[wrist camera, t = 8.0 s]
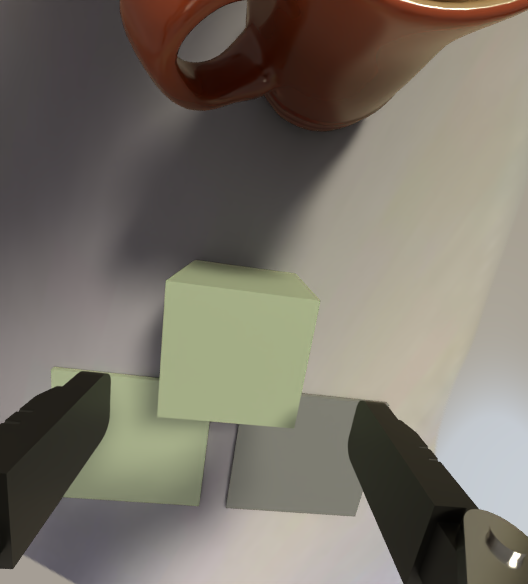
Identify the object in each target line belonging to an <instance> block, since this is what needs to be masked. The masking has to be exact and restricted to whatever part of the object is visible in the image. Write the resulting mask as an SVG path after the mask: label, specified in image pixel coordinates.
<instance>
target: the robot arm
mask: <svg viewBox="0 0 528 584" xmlns="http://www.w3.org/2000/svg"><path fill="white" fill-rule="evenodd" d="M110 395H111V377H110V375H109V374H108V373H99V372H89V371H81V372H79V373H78V374H76V375H75V376H74V377H73V378H72V379H70V380H69V381H68V382H67V383H66V384H65V385H63V386H56V387H54V388H52V389H50V390H47V391H45V392H43V393H41V394H39V395H37V396H35V397H34V398H33V399H32V400H30V401H29V402H28V403H26V404H25V405H24V406H23V407H21V408H20V410H19V412H15V413H14V414H13V415H11V416H10V417H9V418H8V419H6V420H5V423H1V424H0V569H13V568H14V567H15V565H16V564H17V562H18V561H19V560H20V558H21V557H22V555H23V554H24V552H25V551H26V549H27V548H28V547H29V545H30V544H31V542H32V541H33V539H34V538H35V536H36V535H37V534H38V532H39V531H40V529H41V528H42V526H43V525H44V523H45V522H46V520H47V519H48V518H49V516H50V515H51V513H52V512H53V510H54V509H55V507H56V506H57V505H58V503H59V502H60V500H61V499H62V497H63V496H64V494H65V493H66V491H67V490H68V489H69V487H70V486H71V484H72V483H73V481H74V480H75V478H76V477H77V476H78V474H79V473H80V471H81V470H82V468H83V467H84V465H85V464H86V463H87V461H88V460H89V458H90V457H91V455H92V454H93V452H94V451H95V449H96V448H97V447H98V445H99V444H100V442H101V441H102V439H103V437H104V435H105V433H106V431H107V428H108V424H109V419H110ZM348 455H349V459H350V462H351V464H352V467H353V469H354V471H355V473H356V476H357V478H358V480H359V483H360V485H361V487H362V490H363V492H364V494H365V496H366V499H367V501H368V503H369V506H370V508H371V510H372V513H373V515H374V517H375V519H376V522H377V524H378V526H379V529H380V531H381V533H382V536H383V538H384V540H385V542H386V545H387V547H388V549H389V552H390V554H391V556H392V558H393V561H394V563H395V565H396V568H397V570H398V572H399V575H400V577H401V579H402V581H403V584H528V536H526V535H525V534H524V533H523V532H522V531H520V530H519V529H518V528H517V527H515V526H514V525H512V524H511V523H510V522H508V521H506V520H505V519H503V518H501V517H499V516H497V515H495V514H493V513H490V512H488V511H484V510H480V509H478V507H477V506H476V505H475V504H474V502H473V501H472V500H471V499H470V498H469V497H468V495H467V494H466V493H465V491H464V490H463V489H462V488H461V487H460V485H459V484H458V483H457V482H456V480H455V479H454V478H453V477H452V476H451V474H450V473H449V472H448V471H447V469H446V468H445V467H444V466H443V465H442V463H441V462H438V459H437V457H436V456H435V455H434V454H433V452H432V451H431V450H430V449H428V446H427V445H426V444H425V443H424V441H423V440H422V439H421V438H420V436H419V435H418V434H417V433H416V432H415V431H414V430H412V429H411V428H410V427H409V426H407V425H406V424H405V423H404V422H402V421H401V420H398V419H397V418H396V416H395V415H394V414H393V412H392V411H391V410H390V409H389V407H388V406H387V405H386V404H385V403H383V402H374V401H364V400H361V401H359V402H358V404H357V407H356V411H355V415H354V419H353V423H352V427H351V431H350V434H349V438H348Z"/></svg>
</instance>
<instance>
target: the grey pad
mask: <svg viewBox="0 0 528 584" xmlns="http://www.w3.org/2000/svg"><path fill="white" fill-rule="evenodd" d="M359 401H361V400H360V399H351V398H342V397H332V396H323V395H314V394H304V393H301V398H300V403H299V408H298V413H297V418H296V422H295V427H294V428H282V427H270V426H258V425H247V424H239V426H238V432H237V439H236V445H235V452H234V458H233V464H232V471H231V477H230V483H229V490H228V496H227V502H226V508H234V509H250V510H265V511H280V512H295V513H310V514H325V515H340V516H355V515H356V512H357V508H358V505H359V502H360V499H361V495H362V492H363V490H362V487H361V485H360V483H359V480H358V478H357V476H356V473H355V471H354V469H353V467H352V464H351V462H350V459H349V455H348V438H349V434H350V431H351V427H352V423H353V419H354V415H355V411H356V407H357V404H358V402H359ZM364 401H370V400H364ZM374 402H379V401H374ZM383 403H385V404H386V405H387V406H389V405H388V403H387V402H383Z"/></svg>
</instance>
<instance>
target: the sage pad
mask: <svg viewBox="0 0 528 584" xmlns="http://www.w3.org/2000/svg"><path fill="white" fill-rule="evenodd" d="M81 371H88V370H79V369H70V368H60V367H54V368H52V369H51V385H52V388H54V387H56V386H63V385H65V384H66V383H67V382H68V381H69V380H70V379H72V378H73V377H74V376H75V375H76V374H78V373H79V372H81ZM89 372H98V371H89ZM99 373H107V372H99ZM108 374H109V375H110V377H111V395H110V419H109V424H108V428H107V431H106V433H105V435H104V437H103V439H102V441H101V442H100V444H99V445H98V447H97V448H96V449H95V451H94V452H93V454H92V455H91V457H90V458H89V460H88V461H87V463H86V464H85V465H84V467H83V468H82V470H81V471H80V473H79V474H78V476H77V477H76V478H75V480H74V481H73V483H72V484H71V486H70V487H69V489H68V490H67V491H66V493H65V494H64V496H63V497H68V498H84V499H99V500H114V501H129V502H144V503H159V504H174V505H189V506H199V502H200V494H201V486H202V478H203V470H204V462H205V455H206V447H207V439H208V431H209V423H210V421H200V420H188V419H176V418H165V417H157V411H158V395H159V380H160V378H154V377H145V376H135V375H126V374H116V373H108Z"/></svg>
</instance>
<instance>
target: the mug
mask: <svg viewBox="0 0 528 584" xmlns="http://www.w3.org/2000/svg"><path fill="white" fill-rule="evenodd" d="M237 1H242V0H120V14H121V18H122V22H123V26H124V29H125V32H126V35H127V37H128V39H129V42H130V44H131V46H132V48H133V50H134V52H135V54H136V55H137V57H138V59H139V60H140V62H141V64H142V65H143V67H144V68H145V70H146V72H147V73H148V75H149V76H150V78H151V79H152V81H153V82H154V83H155V85H156V86H157V87H158V88H159V89H160V90H161V92H162V93H163V94H164V95H165V96H166V97H168V98H169V99H170V100H171V101H172V102H174V103H175V104H177V105H179V106H181V107H183V108H186V109H189V110H197V111H206V110H213V109H217V108H220V107H224V106H227V105H230V104H233V103H237V102H241V101H247V100H251V99H255V98H259V97H261V96H265V98H266V99H267V101H268V102H269V104H270V105H271V106H272V108H273V109H274V110H275V111H276V113H277V114H278V115H279V116H280V117H282V118H283V119H285V120H286V121H288V122H290V123H292V124H294V125H296V126H298V127H301V128H304V129H307V130H312V131H332V130H336V129H340V128H343V127H346V126H349V125H352V124H354V123H356V122H358V121H360V120H362V119H364V118H366V117H368V116H370V115H372V114H373V113H375V112H376V111H378V110H379V109H380V108H381V107H383V106H384V105H385V104H386V103H387V102H388V101H389V100H390V99H391V98H392V97H393V96H394V95H395V93H397V92H398V91H399V90H400V89H401V88H402V87H403V86H404V85H406V84H407V83H408V82H409V81H410V80H411V79H412V78H413V77H414V76H415V75H416V74H417V73H418V72H419V71H420V70H421V69H422V68H423V67H424V66H425V65H426V64H427V63H428V62H429V61H430V60H431V59H432V58H433V57H434V56H435V55H436V54H437V53H438V52H439V51H441V50H442V49H443V48H444V47H445V46H446V45H448V44H449V43H451V42H453V41H455V40H456V39H458V38H461V37H463V36H465V35H468V34H470V33H472V32H475V31H477V30H480V29H482V28H485V27H488V26H490V25H493V24H495V23H498V22H501V21H503V20H506V19H509V18H511V17H514V16H516V15H518V14H520V13H522V12H525V11H527V10H528V0H247V12H246V28H245V29H244V31H243V32H242V33H241V34H240V35H239V36H238V37H237V39H236V40H235V41H234V42H233V43H232V44H231V45H230V46H229V47H228V48H227V49H226V50H225V51H224V52H223V53H221V54H220V55H219V56H217V57H215V58H213V59H211V60H207V61H204V62H187V61H184V60H182V59H180V58H179V57H177V54H178V50H179V48H180V46H181V44H182V42H183V41H184V39H185V38H186V36H187V35H188V34H189V33H190V32H191V31H192V29H193V28H194V27H195V26H196V25H198V24H199V23H200V22H201V21H202V20H203V19H204V18H206V17H207V16H208V15H209V14H211V13H213V12H214V11H216V10H217V9H219V8H221V7H223V6H225V5H227V4H230V3H233V2H237Z"/></svg>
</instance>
